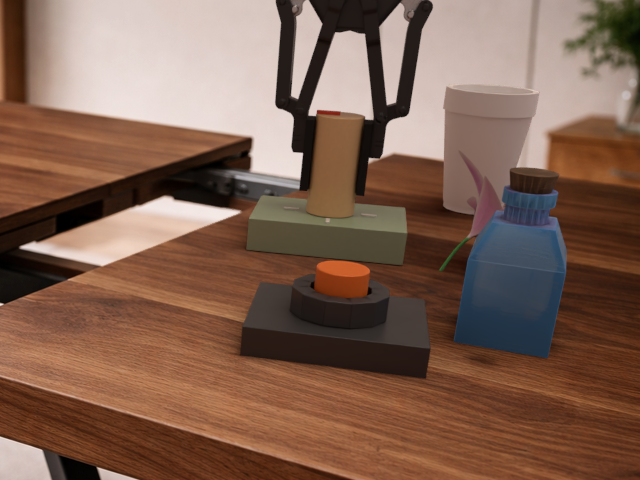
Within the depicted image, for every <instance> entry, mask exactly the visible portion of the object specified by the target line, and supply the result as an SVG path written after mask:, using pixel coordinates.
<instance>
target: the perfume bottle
mask: <svg viewBox="0 0 640 480" xmlns="http://www.w3.org/2000/svg"><path fill="white" fill-rule="evenodd" d="M559 177H560V173H559V172H556V171H554V170H549V169H544V168H537V167H528V166H527V167H524V166H523V167H522V166H520V167H519V166H517V167H516V168H511V169H510V185H506V186H505V187H504V190H503V196H502V202H503V203H505V204H504V208H505V209H504V211H498V210H496V212H495V213H494V215H493V216H492V217H491V219H490V220H489V221H488V223H487V224H486V225H485V227H484V228H483V229H482V231H481V232H480V233H479V235H478V236H477V237H475V240H474V242H473V245H472V248H471V250H470V253H469V255H468V258H467V262H466V268H465V274H464V280H463V286H462V291H461V297H460V303H459V308H458V314H457V319H456V326H455V331H454V337H453V343H455V344H462V345H466V346H467V345H468V346H474V347H478V348H479V347H480V348H484V349H491V350H497V351H504V352H507V353H514V354H521V355H524V356H525V355H527V356H531V357H532V356H533V357H537V358H544V359H548V358H549V355H550V351H551V346H552V341H553V337H554V333H555V332H554V331H555V327H556V322H557V318H558V312H559V308H560V304H561V299H562V295H563V289H564V284H565V281H566V275H567V259H568V258H567V254H568V250H567V247H566V246H567V245H566V243H565V240H564V236H563V233H562V230H561V226H560V223H559V220H558V217H556V216H550V213H551V210H552V209H555V208H556V206H557V201H558V196H559V192H558V190H555V189H554V188H555V186H556V184H557V182H558V179H559Z"/></svg>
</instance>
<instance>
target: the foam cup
mask: <svg viewBox="0 0 640 480" xmlns="http://www.w3.org/2000/svg"><path fill="white" fill-rule="evenodd" d="M539 97H540V91H538V90H535V89H532V88H527V87H520V86H519V87H518V86H512V85H501V84H487V83H454V84H448V85H446V86H445V92H444V99H443V104H442V105H443V106H442V109H443V110H444V127H443V128H444V129H443V130H444V131H443V132H444V135H443V174H442V175H443V181H442V183H443V184H442V201H443V204H442V207H444V208H445V209H446V210H449V211H452V212H454V213H459V214H460V213H461V214H466V215H473V216H474V212H475V210H474V209H473V208H472V207H471V206H470V205H469V204H468V203H467V200H468V199H469V198H470V197H473V196H475V197H476V201H477V204H478V200H479V195H478V191H477V187H476V184H475V181H474V179H473V177H472V175H471V173H470V171H469V169H468V167H467V165H466V164H465V162H464V160H463V159H462V157H461V155H460V153H459V151H461V152H462V153H463V154H465V155H466V157H467V158H468V159H469V160H470V161H471V162H472V163H473V164H474V165H475V166H476V168H477V169H478V170H479V172H480V174H481V175H482V177H483V179H484V176H486V177H487V179H488V180H489V181H490V183H491V184H492V186H493V188H494V190H495V192H496V194H497V196H498V198H499V200H500V203H501V206H502V207H505V203H503V202H502V196H503V190H504V187H505V186H506V185H510V169H511V168H517V167H518V163H519V161H520V158H521V155H522V151H523V148H524V145H525V142H526V139H527V136H528V132H529V130H530V126H531V123H532V119H533V117H535V116H536V113H537V108H538V102H539ZM458 150H459V151H458Z"/></svg>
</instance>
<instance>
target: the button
mask: <svg viewBox="0 0 640 480" xmlns="http://www.w3.org/2000/svg"><path fill="white" fill-rule="evenodd" d="M315 274H316V275H315V284H314V290H315V291H316V292H318V293H322V294H325V295H329V296H334V297H343V298H354V297H364V296H367V292H368V285H369V279H370V276H371V270H370V268H369V267H368V266H366V265H364V264H362V263H358V262H355V261H349V260H325V261H321V262H319V263H317V265H316V268H315Z"/></svg>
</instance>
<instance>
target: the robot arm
mask: <svg viewBox="0 0 640 480" xmlns="http://www.w3.org/2000/svg"><path fill="white" fill-rule="evenodd" d="M306 1H307V0H275V5H276V10H277V13H278V17H279V22H280V31H279V43H278V59H277V69H276V86H275V97H274V98H275V99H274V105H275V107H276V108H277V109H278V110H282V111H285V112H287V113H289V114H290V115H291V116H292V118H293V123H292V124H293V125H292V135H291V145H290V148H291V150H292V153H297V154H302V159H301V169H300V177H299V178H300V179H299V188H298V191H299V192H308V187H309V178H310V168H311V158H312V149H313V139H314V130H315V120H316V115H310V109H311V106H312V103H313V100H314V97H315V94H316V91H317V88H318V85H319V82H320V80H321V76H322V73H323V70H324V67H325V64H326V61H327V58H328V54H329V52H330V50H331V46H332V44H333V40H334V38H335V35H336V33H339V34H340V33H345V32H349V31H350V32H353V33H356V34H358V35H359V34H361V35H364V39H365V46H366V47H365V48H366V57H367V58H366V59H367V67H368V75H369V87H370V96H371V97H370V98H371V105H372V106H371V107H372V114H373V118H372V119H368V118H367V119H366V118H365V125H364V133H363V141H362V149H361V157H360V166H359V174H358V182H357V190H356V197H357V196H359V197H365V193H366V185H367V179H368V178H367V176H368V170H369V169H368V168H369V161H370V159H378V160H381V157H382V155H383V154H384V147H385V139H386V131H387V125H389V123H390V122H391V121H393V120H396V119H400V118H405V117H407V116H409V114H410V111H411V105H412V99H413V98H412V96H413V92H414V91H413V90H414V85H415V78H416V72H417V65H418V59H419V53H420V45H421V39H422V35H423V34H422V33H423V28H424V27H425V25H426V23H427V21H428V19H429V18H430V15H431V13H432V11H433V9H434V4H433V2H432V1H431V0H308V2H309V4H310V5H311V7H312V9H313V11H314V12H315V14H316V15H317V18H318V19H319V21H320V24H321V27H320V30H319V33H318V36H317V39H316V43H315V46H314V49H313V52H312V55H311V58H310V61H309V64H308V68H307V70H306V73H305V76H304V79H303V81H302V86H301V87H300V88H301V89H300V92H299V94H298V98H296V97H295V96H292V90H293V78H294V64H295V53H296V42H297V41H296V40H297V27H298V25H297V23H298V21H297V17H299V16H300V15H301V14H302V13H303V9H304V3H305V2H306ZM400 4H401V5H402V7H403V9H404V10H403V19H404V20H405V21H406V22H408V24H407V28H406V32H405V37H404V38H405V39H404V43H403V44H404V45H403V51H402V58H401V66H400V73H399V79H398V85H397V92H396V97H395V98H396V99H395V102H393V103H389V104H388V102H387V93H386V92H387V91H386V82H385V71H384V62H383V51H382V42H381V41H382V40H381V31H380V27H381V25H383V24H384V22H385V21H386V20H387V19H388V18H389V17H390V15H391V14H392V13H393V12H394V11H395V9H396V8H397V7H398V6H399V5H400Z"/></svg>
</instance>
